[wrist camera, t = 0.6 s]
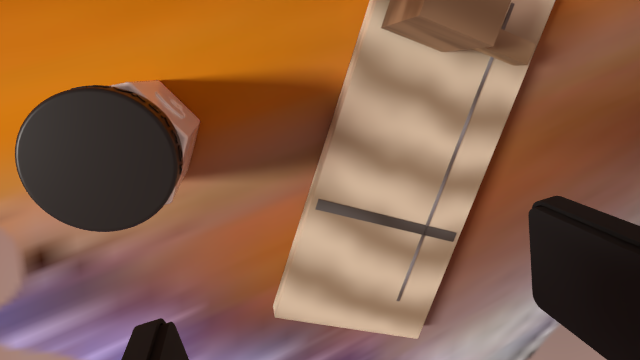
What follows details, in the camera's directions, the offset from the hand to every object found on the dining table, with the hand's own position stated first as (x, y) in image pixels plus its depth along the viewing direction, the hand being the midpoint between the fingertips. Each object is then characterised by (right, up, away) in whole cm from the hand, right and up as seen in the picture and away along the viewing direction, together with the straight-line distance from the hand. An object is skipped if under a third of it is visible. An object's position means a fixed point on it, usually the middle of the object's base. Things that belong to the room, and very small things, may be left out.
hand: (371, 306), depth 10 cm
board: (+7, +5, +28) cm, 29 cm away
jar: (-16, +7, +23) cm, 29 cm away
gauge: (+10, +16, +23) cm, 30 cm away
